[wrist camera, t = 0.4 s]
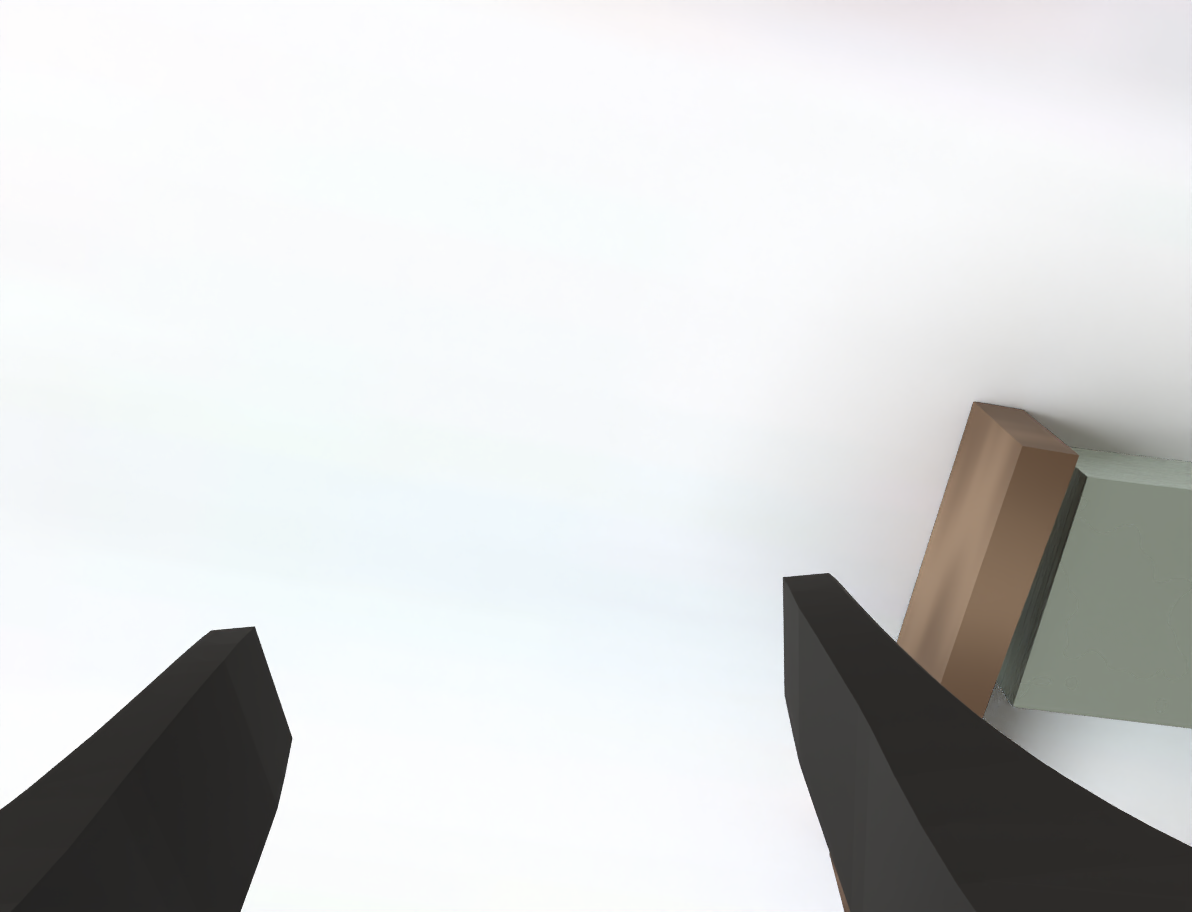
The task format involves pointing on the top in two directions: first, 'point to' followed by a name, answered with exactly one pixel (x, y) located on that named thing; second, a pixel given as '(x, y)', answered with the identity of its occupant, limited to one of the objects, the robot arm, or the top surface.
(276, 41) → the top surface
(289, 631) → the top surface
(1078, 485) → the cover plate
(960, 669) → the walnut box
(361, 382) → the top surface
